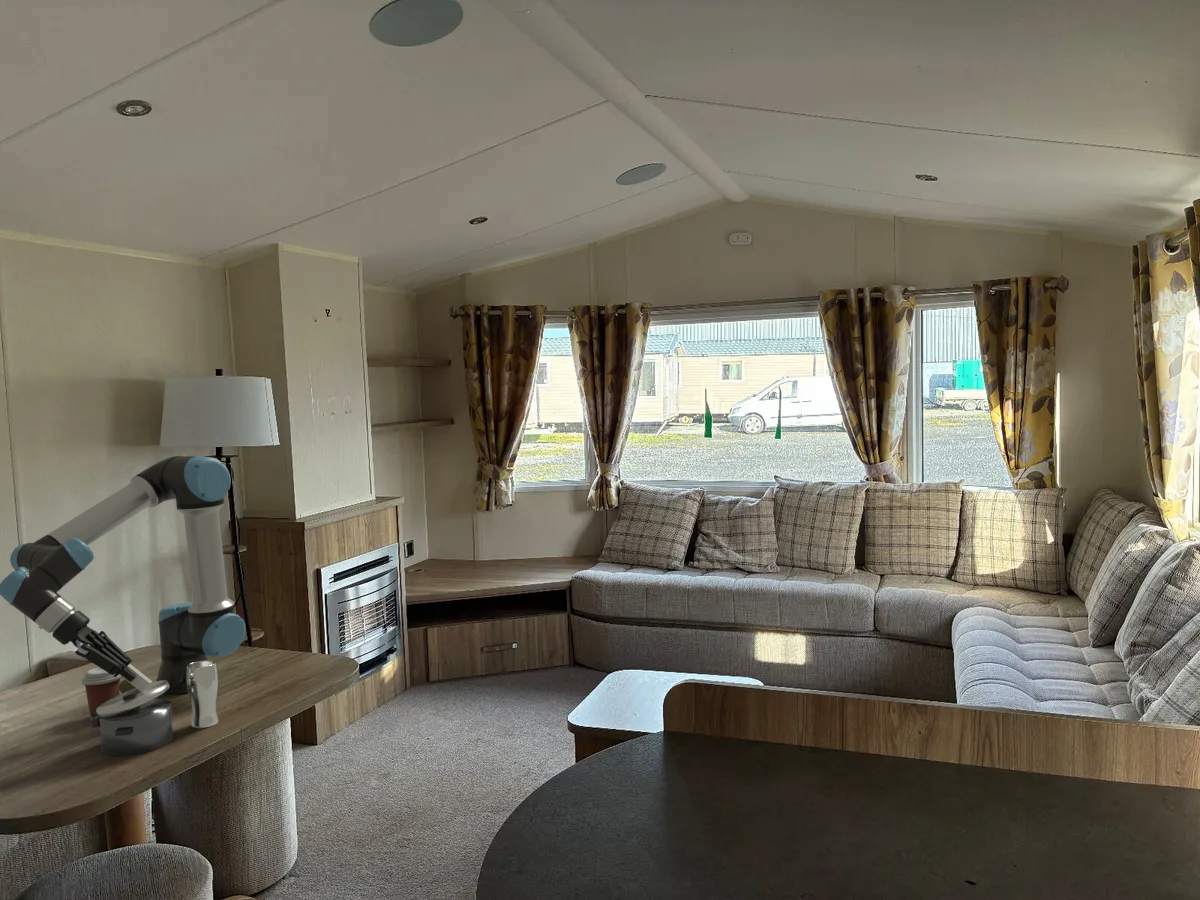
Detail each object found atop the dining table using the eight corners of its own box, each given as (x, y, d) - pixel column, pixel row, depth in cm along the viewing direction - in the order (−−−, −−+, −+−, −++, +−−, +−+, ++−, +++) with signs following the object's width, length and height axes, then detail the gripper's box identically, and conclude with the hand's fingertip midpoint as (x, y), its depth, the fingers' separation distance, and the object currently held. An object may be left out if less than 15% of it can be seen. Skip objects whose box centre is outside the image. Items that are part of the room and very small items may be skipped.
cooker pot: (82, 763, 199) (80, 728, 199) (112, 732, 218) (109, 699, 218) (160, 755, 202) (158, 720, 202) (182, 725, 221) (180, 693, 221)
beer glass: (197, 719, 225) (194, 660, 224) (225, 718, 225) (221, 659, 224) (184, 729, 218) (180, 668, 217) (212, 728, 218) (208, 668, 217)
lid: (84, 725, 201) (81, 716, 200) (108, 702, 216) (105, 693, 216) (158, 699, 203) (155, 690, 203) (177, 678, 219) (174, 670, 218)
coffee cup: (78, 717, 229) (75, 671, 228) (116, 707, 236) (113, 662, 235) (93, 725, 223) (89, 677, 222) (131, 714, 230) (128, 668, 229)
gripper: (63, 627, 212) (144, 690, 216) (39, 641, 199) (126, 708, 203) (86, 603, 213) (166, 666, 217) (64, 616, 200) (150, 683, 204)
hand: (146, 686), depth 210 cm, fingers closed
